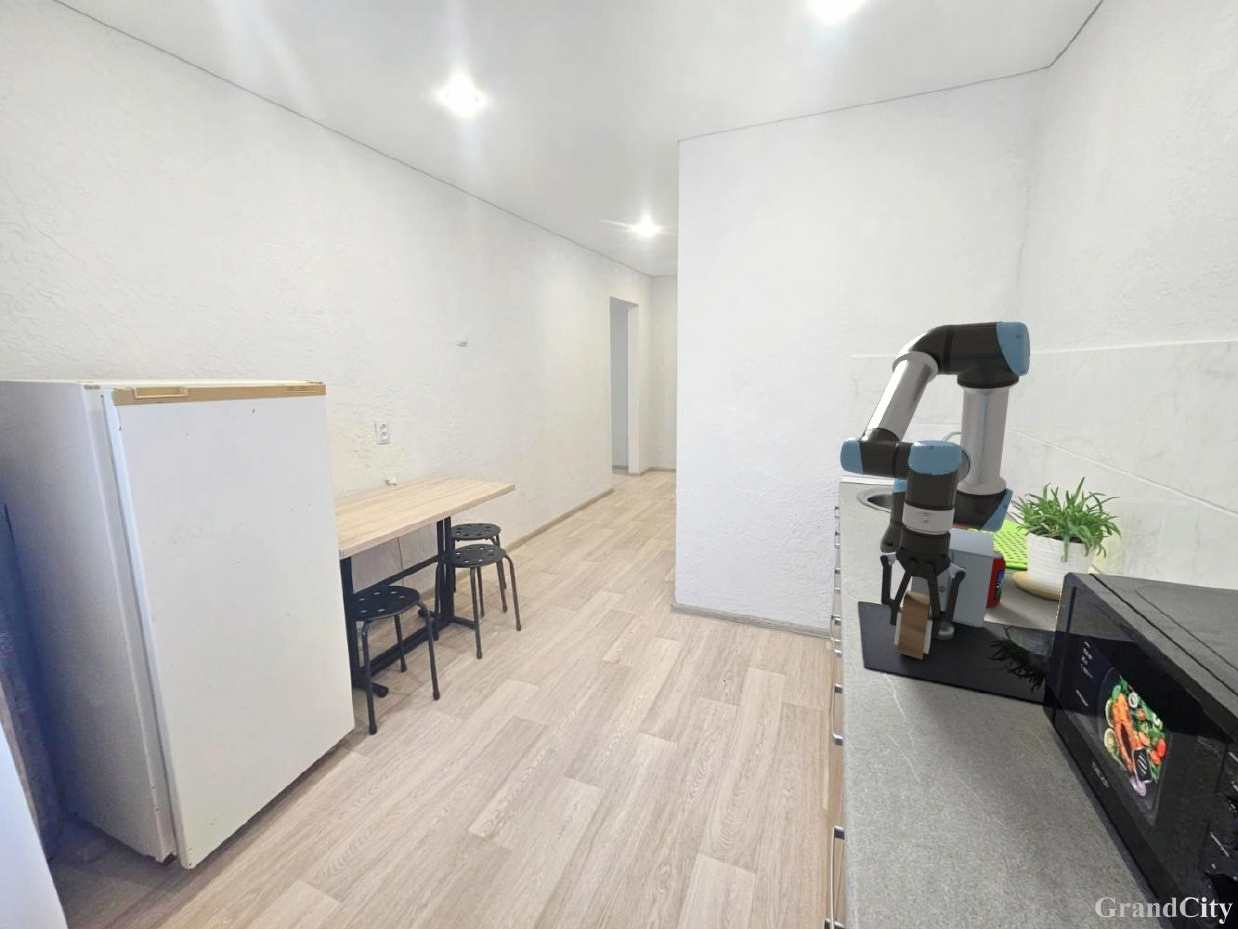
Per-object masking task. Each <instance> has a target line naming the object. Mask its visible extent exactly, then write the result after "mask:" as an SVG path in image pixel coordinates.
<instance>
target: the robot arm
mask: <svg viewBox="0 0 1238 929" xmlns="http://www.w3.org/2000/svg"><path fill="white" fill-rule="evenodd" d="M1030 339H1031V338H1030V333H1029V329H1028V326H1027V325H1026V324H1025V323H1023V322H1020V321H1002V320H1001V321H991V322H990V321H989V322H976V323H966V324H965V323H962V324H944V325H939V326H936V327H933V328H931V329H928V330H926V331H924V332H922V333H920V334H919V335H917V336H916V337H914V338H913V339H911V340H910V341H909V342H908V343H907V344H906V345H905V346H903V348H902V349H901V350H900V352H898V354H897V355H896V357H895V359H894V360H893V362H892V367H891V369H892V375H891V376H890V379H889V381H888V383H887V385H886V386H885V389H884V390H883V393H882V395H881V397H880V399H879V400H878V403H877V405H876V407H875V409H874V410H873V413H872V415H871V417H870V419H869V421H868V423H867V424H866V427H865V428H864V429H863V430H864V431H863V432H862V434H861V436H860V437H858V436H855V437H847V439H845V440H844V441H843V443H842V446H841V449H840V454H839V460H840V465H841V468H842V469H843V471H845V472H847V473H853V474H857V475H861V476H872V477H880V478H888V479H894V481H893V486H892V487H893V488H892V490H891V493H892V494H891V505H890V515H889V523H888V526H887V527H886V529H885V532H884V533H883V536H882V537H881V540H880V544H879V548H880V550H881V552H882V553H881V555H880V557H879V560H880V562H881V567H882V578H881V580H882V581H881V594H880V596H881V597H880V603H881V605H883V606H887V607H888V608H889V609H890V617H889V618H890V619H889V623H890V625H891V626H894V627H895V632H894V643H893V644H894V645H896V646H898V642H899V634H900V625H901V616H902V608H903V606H902V607H901V604H902V603H903V599H904V596H905V593H906V591H907V589H908V587H909V583H910V581H911V580H912V576H913V577H921V578H923V579H927V584H928V588H929V596H930V604H931V611H932V615H930V614H929V616H928V620H927V627H926V635H925V643H924V650H923V653H924V654H927V655H929V651H930V647H931V639H932V637H931V636H934V637H937V636H938V635H939V629H940V622H941V621H947V622H949V623H951V622H953V621H952V620H953V616H954V611H955V606H956V600H957V595H958V590H959V585H960V583H961V582H962V580H963V579H964V578H965V576H966V568H965V567H958V566H956V565H954V564H952V563H951V560H950V558H949V555H948V553H949V546H950V538H951V533H950V532H949V530H951V529H952V528H953V526H954V527H961V528H966V529H972V530H976V531H977V532H988V533H997V532H999V531H1000V530H1001V529H1002V528H1003V525H1004V522H1005V518H1006V515H1007V512H1008V509H1009V506H1010V504H1011V501H1012V498H1013V495H1014V490H1012V489H1010V488H1007V481H1006V480H1005V479H1004V478H1003V477H1002V476H1001V467H1002V458H1003V451H1004V450H1003V449H1004V440H1005V439H1004V438H1005V431H1006V424H1007V423H1006V422H1007V421H1006V420H1007V414H1008V405H1009V404H1008V403H1009V395H1010V394H1009V393H1010V389H1011V388H1013V387H1014V386H1016V385H1017V384H1018V383H1019V382H1020V377H1023V376H1026V375H1027V374H1028V372H1029V370H1030V363H1031V362H1030V360H1031V359H1030V357H1031V341H1030ZM941 375H942V376H943V375H944V376H945V375H946V376H956V385H958V387H960V388H962V389H963V398H962V412H961V426H960V427H961V428H960V441H959V444H958V443H955V442H951V441H946V440H945V441H944V440H935V439H934V440H932V439H931V440H929V439H928V440H925V439H924V440H918V441H915V442H907V441H903V439H904V437H905V434H906V432H907V430H908V428H909V426H910V423H911V421H912V420H913V417H914V415H915V412H916V411H917V409H918V406H919V403H920V402H921V399H922V397H923V395H924V392H925V391H926V388H927V386H928V384H929V383H932V381H934V380H935V379H936V377H937V376H941ZM896 560H897V561H898V562H899V564H900V565H901V567H902V569H903V570H904V574H903V575H902V578H901V581H900V584H899V587H898V589H897V591H896V594H895V596H894V598H892V597H891V590H892V576H893V565H894V564H895V562H896ZM946 569H949V571H950V573H949V575H950V577H951V578H952V581H951V586H950V592H949V597H948V603H947V608H946V611H941V606H940V598H939V590H938V582H937V576H939V575H940V574H941V573H942V572H944V571H945V570H946ZM934 637H933V638H934Z"/></svg>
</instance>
